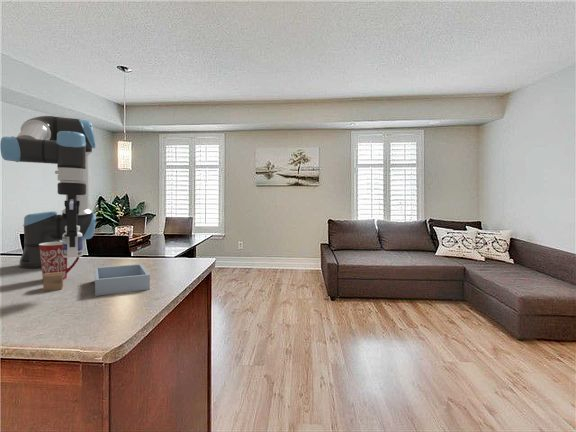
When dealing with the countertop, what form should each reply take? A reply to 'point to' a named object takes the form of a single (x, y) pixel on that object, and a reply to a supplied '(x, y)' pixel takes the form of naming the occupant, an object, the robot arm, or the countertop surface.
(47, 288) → the wooden cube
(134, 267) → the tote
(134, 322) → the countertop surface
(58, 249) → the mug
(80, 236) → the pill bottle
